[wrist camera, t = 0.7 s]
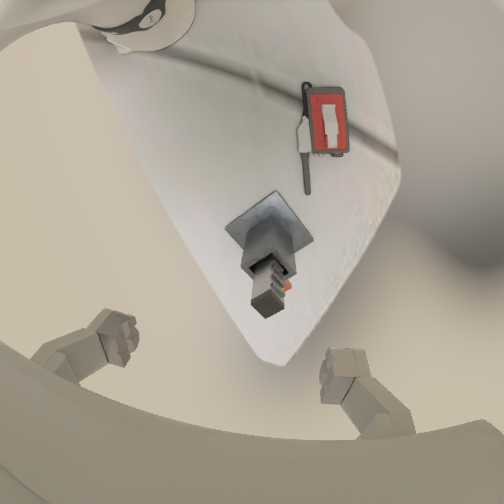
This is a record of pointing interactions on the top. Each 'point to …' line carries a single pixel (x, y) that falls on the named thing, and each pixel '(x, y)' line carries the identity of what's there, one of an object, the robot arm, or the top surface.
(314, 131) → the walkie-talkie
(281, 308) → the column
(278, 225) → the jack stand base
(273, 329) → the top surface
